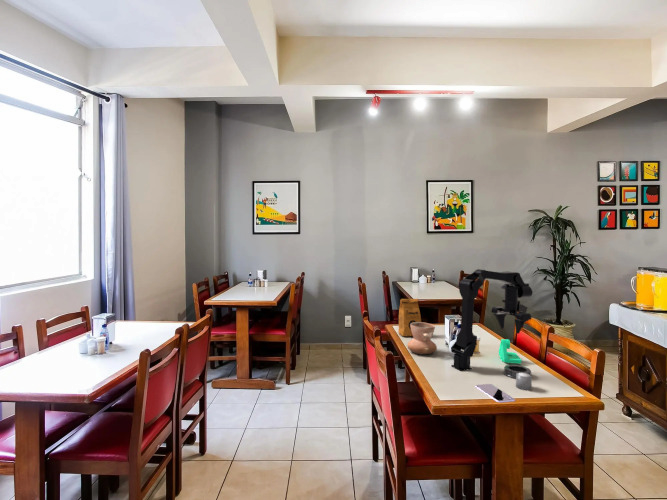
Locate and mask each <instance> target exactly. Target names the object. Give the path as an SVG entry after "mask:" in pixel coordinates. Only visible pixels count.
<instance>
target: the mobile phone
mask: <svg viewBox="0 0 667 500" xmlns="http://www.w3.org/2000/svg"><path fill="white" fill-rule="evenodd" d="M475 388H476V389H477V390H479V391H480V392H482V394H485V395H486V396H488V397H489V398H490V399H491V400H493V401H495V402H497V403H512V402H515V401H516V399H515V398H514V397H512V396H511V395H509V394H507V393H506V392H505V391H503V390H501V389H500V388H498V387H497V386H495V385H493V384H490V383H485V384H476V385H475Z"/></svg>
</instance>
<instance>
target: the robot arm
mask: <svg viewBox="0 0 667 500" xmlns="http://www.w3.org/2000/svg"><path fill="white" fill-rule="evenodd" d="M486 279H488V280H493V281H494V280H496V281H500V282H502V283H503V285H502V286H501V287H500V288H501V289H503V290H504V298H503V299H502V300H501V301H502V303H503V304H504V305H503V306H501V305H498V306H493V307H492V308H491V313H492V314H493V315H494V317H495V318H496V321H497V322H498V324H499V326H500V329H502V330H504V327H505V317H506V316H507V315H510V316H514V318H515V319H514V326H515V332H516V334H520V332H521V330H522V328H523V326H524V324H525V323H526V322H529V320H530V321H531V320H532V314H531V313H530V312H527V310H528V307H527V306H526V305H523V304H521V301H520V300H519V298H521V299H522V298H525V299H526V298H530V297H532V295H533V289H532V288H531V287H530V283H527V282H525V281H524V280H523V278H522V276H521V273H519V272H517V271H516V272H515V271H508V270H507V271H505V270H504V271H501V272H498V271H493V270H486V269H479V268H477V269H475V270H474V271H473V272H471V273H470V274H468V275H466V276H465V277H464V278H463V279H461V280H460V281H459V282H458V289H459V294H460V296H461V300H462V301H461V302H462V303H461V316H460V317H461V320H460V322H461V323H460V331H459V332H458V333H457V335H456V340H455V341H454V343H453V344H452V345H451V347H450V351H451V353H453V364H451V366H450V367H452V368H454V369H456V370H458V371H460V372H461V371H468V370H472V369H473V368H472V367H471V357H472V358H473V356H474V354H475V353H474V352H475V350H476V348H477V347H476V346H478V344H477V341H478V336H477V335H475V334H474V332H473V329H474V327H473V325H474V309H475V308H474V305H475V299H476V298H477V296H478V295H479V290H480V288H481V287H482V286H483V285H484V282H485V280H486Z"/></svg>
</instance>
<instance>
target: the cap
mask: <svg viewBox="0 0 667 500" xmlns="http://www.w3.org/2000/svg"><path fill="white" fill-rule="evenodd" d="M531 375H532V374H531ZM531 375H530V374H527V373H517V374H516V379H515V387H516V389H519V390H522V391H527V390H528V391H531V390H532V387H533V386H532V383H533V382H532V381H533V379H532V378H533V375H532V376H531Z"/></svg>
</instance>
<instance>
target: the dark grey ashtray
mask: <svg viewBox="0 0 667 500" xmlns="http://www.w3.org/2000/svg"><path fill="white" fill-rule="evenodd" d="M502 371H503V372H502V373H503V375H504V376H506V377H507V378H511V379H515V380H516V374H517V373H527V374H530V375H531V376H532V377H533V375H532V370H531V369H530V368H528V367H526V366H523V365H518V364H507V365H505V366H504V370H502Z"/></svg>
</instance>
